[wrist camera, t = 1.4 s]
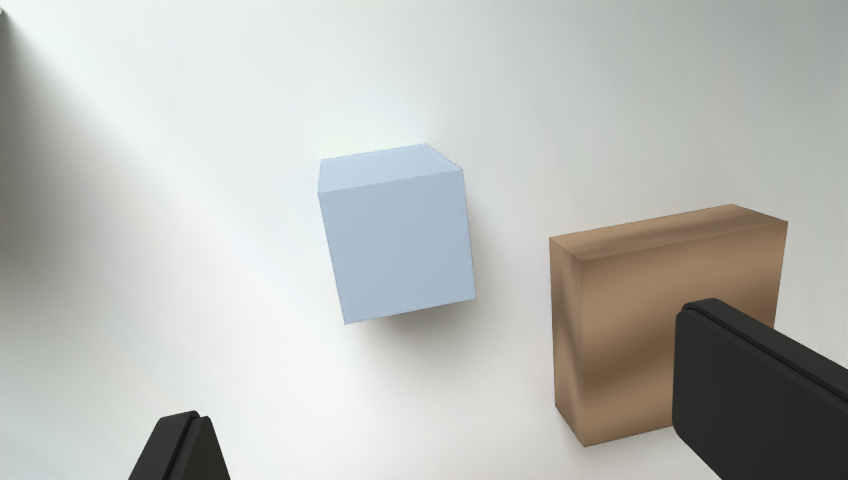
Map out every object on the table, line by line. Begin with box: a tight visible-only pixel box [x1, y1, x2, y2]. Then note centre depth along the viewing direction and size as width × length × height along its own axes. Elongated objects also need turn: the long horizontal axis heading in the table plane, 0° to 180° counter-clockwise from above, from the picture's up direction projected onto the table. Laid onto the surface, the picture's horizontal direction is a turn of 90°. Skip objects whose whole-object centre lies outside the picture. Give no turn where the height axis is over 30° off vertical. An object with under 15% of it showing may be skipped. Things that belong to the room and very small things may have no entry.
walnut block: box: [549, 204, 788, 447], centre depth 27 cm, size 11×11×4 cm
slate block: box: [318, 143, 476, 325], centre depth 21 cm, size 5×5×7 cm
